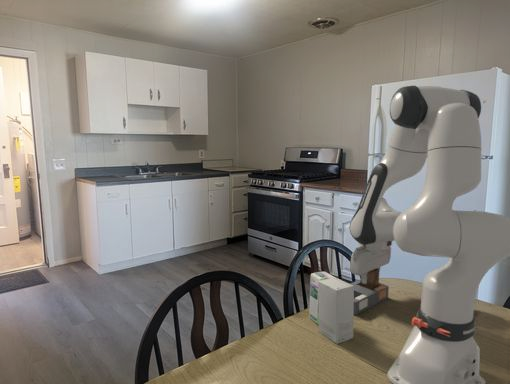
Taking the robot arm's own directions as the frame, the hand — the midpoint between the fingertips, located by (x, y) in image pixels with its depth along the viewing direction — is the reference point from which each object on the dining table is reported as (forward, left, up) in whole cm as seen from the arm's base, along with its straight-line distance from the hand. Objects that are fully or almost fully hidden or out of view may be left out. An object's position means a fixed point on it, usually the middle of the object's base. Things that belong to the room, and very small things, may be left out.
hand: (369, 280), depth 126 cm
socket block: (-6, 0, -6) cm, 8 cm away
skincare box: (-30, -8, -6) cm, 32 cm away
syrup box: (-26, 0, -6) cm, 27 cm away
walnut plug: (0, 0, -4) cm, 4 cm away
